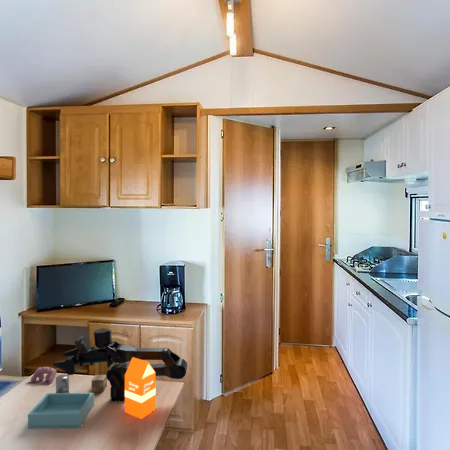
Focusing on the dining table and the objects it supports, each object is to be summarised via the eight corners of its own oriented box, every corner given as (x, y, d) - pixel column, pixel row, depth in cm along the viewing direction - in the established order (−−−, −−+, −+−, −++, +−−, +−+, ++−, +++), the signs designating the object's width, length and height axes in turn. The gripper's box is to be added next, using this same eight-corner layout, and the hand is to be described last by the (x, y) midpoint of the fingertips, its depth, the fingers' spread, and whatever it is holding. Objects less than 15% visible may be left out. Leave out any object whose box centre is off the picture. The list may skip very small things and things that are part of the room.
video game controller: (55, 384, 164) (59, 367, 167) (50, 383, 160) (53, 366, 162) (34, 383, 165) (38, 366, 168) (28, 382, 160) (33, 365, 163)
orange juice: (141, 419, 134) (141, 365, 133) (124, 412, 138) (124, 360, 138) (155, 409, 140) (155, 358, 140) (139, 403, 145) (139, 353, 144)
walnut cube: (106, 386, 159) (106, 374, 159) (103, 391, 154) (103, 380, 154) (95, 386, 159) (95, 374, 159) (91, 391, 154) (91, 380, 154)
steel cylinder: (70, 390, 155) (70, 374, 154) (66, 396, 150) (66, 379, 149) (58, 390, 154) (58, 374, 154) (53, 396, 149) (53, 380, 149)
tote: (93, 405, 143) (93, 392, 143) (80, 427, 128) (80, 413, 128) (47, 405, 142) (47, 393, 142) (28, 428, 127) (28, 414, 127)
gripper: (101, 328, 157) (65, 331, 157) (85, 346, 138) (44, 349, 138) (104, 353, 158) (69, 356, 158) (88, 374, 139) (48, 377, 139)
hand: (58, 359), depth 148 cm, fingers open, 9 cm apart
